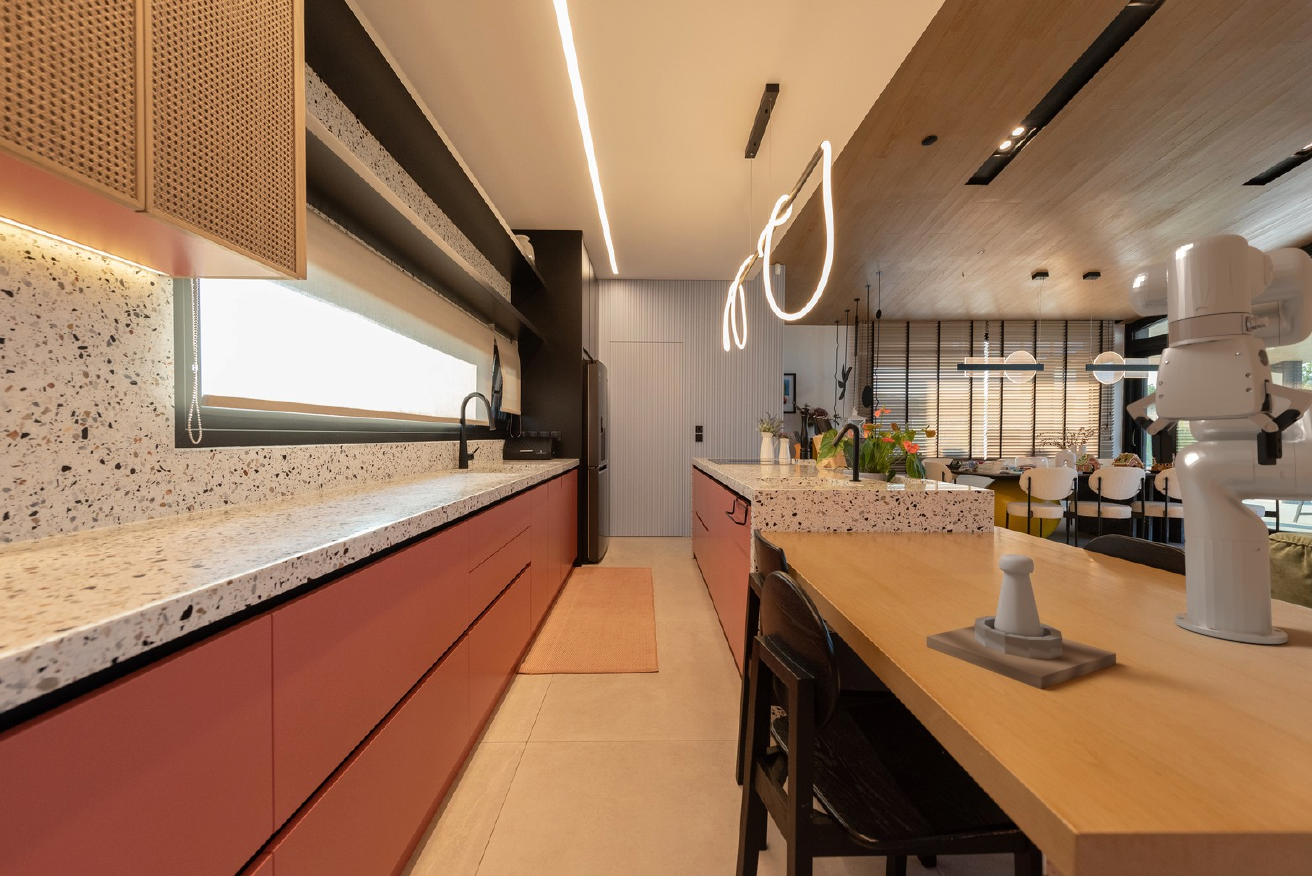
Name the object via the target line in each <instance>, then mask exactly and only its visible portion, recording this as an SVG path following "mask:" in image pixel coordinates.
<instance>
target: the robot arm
mask: <svg viewBox="0 0 1312 876" xmlns="http://www.w3.org/2000/svg"><path fill="white" fill-rule="evenodd" d="M1128 283H1129V284H1128V287H1127V297H1128V302H1129V305H1130V307H1131V308H1132V309H1133V311H1134V312H1135V313H1136V314H1137V315H1139V316H1140V317H1151V316H1152V317H1153V316H1162V315H1167V329H1168V330H1167V331H1168V347H1167V348H1163V350H1162V352H1161V356H1160V360H1159V364H1158V368H1157V376H1156V383H1155V384H1156V385H1155V386H1156V387H1155V391H1154V392H1152V393H1149V394H1148V395H1147V396H1144V397H1142V398H1140V399H1138V400H1136V401H1134V402H1132V403H1130V404H1128V405H1127V406H1126V410H1127V413H1129V415H1130V416H1131V418H1132V419H1133V420H1134V422H1135V424H1136V425H1137V426H1139V427H1140V428H1141V429H1143V430H1144V431H1146V433H1147V434H1148V435H1149V436H1151V437H1150V440H1151V441H1150V442H1151V455H1152V458H1153V459H1155V464H1159V465H1160V464H1161V465H1165V464H1166V465H1167V464H1173V463H1174V467H1175V474H1176V477H1177V482H1178V486H1179V491H1180V495H1181V502H1182V509H1183V511H1182V513H1183V527H1184V528H1183V529H1184V564H1185V588H1186V589H1185V591H1186V593H1185V595H1186V612H1181V613H1176V614H1175V615H1174V617H1173V618H1174V619H1173V620H1174V624H1176V625H1177V626H1179V627H1182V628H1183V629H1185V630H1187V631H1192V632H1194V633H1197V634H1198V633H1199V634H1201V635H1206V636H1208V637H1209V636H1210V637H1214V638H1219V639H1223V640H1228V641H1229V640H1230V641H1234V642H1241V643H1250V644H1263V645H1281V644H1285V643H1287V642H1288V640H1289V639H1288V634H1287V632H1285V631H1284V630H1283V629H1280V628H1277V627H1276V626H1273V619H1272V618H1273V617H1272V613H1273V612H1272V588H1271V559H1270V555H1271V553H1270V535H1269V529H1268V526H1267V524H1266V523H1265V521H1264V520H1263V519H1262V518H1261V517H1260V516H1259V515H1258V514H1257V513H1256V512H1255V511H1253V510H1251V509H1250V508H1249V507H1248V506H1247V505H1245V503H1243V501H1244V500H1245V501H1246V500H1264V501H1267V500H1268V501H1271V500H1272V501H1287V502H1288V501H1289V502H1290V501H1291V502H1296V501H1297V502H1312V389H1306V388H1293V387H1289V386H1285V385H1281V384H1277V383H1274V382H1273V376H1272V370H1271V365H1270V360H1269V357H1268V353H1267V349H1268V348H1279V347H1284V346H1285V347H1287V346H1292V345H1296V344H1299V343H1300V344H1301V342H1303V341H1306V340H1307V339H1308V338H1309V337H1310V335H1311V334H1312V258H1311V256H1310V255H1309V253H1307V252H1306V251H1305V250H1303V249H1301V248H1298V247H1284V248H1278V249H1272V250H1269V251H1268V250H1267V251H1262V250H1261V249H1259V248H1257V247H1255V246H1252V245H1249V241H1248V240H1247V239H1246V238H1245V237H1243V236H1242V235H1240V234H1234V233H1230V234H1229V233H1227V234H1224V233H1223V234H1215V235H1210V236H1204V237H1200V238H1195V239H1193V240H1189V241H1187V242H1184V243H1182V244H1180V245H1176V247H1174V248H1173V249H1172V250H1171V251H1170V252H1169V253H1168V255H1167V257H1166V261H1163V262H1158V263H1157V262H1156V263H1152V264H1148V265H1144V266H1141V267H1140V268H1138V269H1137V270H1135V272H1134V273H1133V274H1132V276H1131V278H1130V280H1129V282H1128ZM1154 405H1155V413H1156V415H1157V418H1156V419H1155V420H1153V419H1152V418H1151V417H1149V416H1148V415H1147V413H1146V409H1148V408H1150V407H1152V406H1154ZM1180 421H1181V422H1182V421H1183V422H1187V421H1188V424H1189V425H1188V426H1189V431H1190V434H1191V436H1192V437H1193V439H1194V440H1196V443H1195V442H1194V443H1191V444H1190V443H1189V444H1187V445H1185V446H1184V447H1182V448H1181V449H1180V450H1179V451H1178V452H1177V454H1176V455H1175V458H1174V450H1173V449H1174V447H1173V444H1174V443H1173V436H1172V435H1171V434H1169V431H1170V430H1171V429H1172V428H1173V427H1175V425H1176V424H1177V423H1179V422H1180ZM1174 459H1175V460H1174Z"/></svg>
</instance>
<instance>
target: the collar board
mask: <svg viewBox="0 0 1312 876" xmlns="http://www.w3.org/2000/svg"><path fill="white" fill-rule="evenodd" d="M995 618H996V615H987V616H982V617H981V616H980V617H976V618H975V620H974V625H972V626H968V627H963V628H958V629H954V630H950V631H944V632H941V633H936V634H931V635H927V636H926V647H927V648H930V649H933V650H936V651H938V652H941V653H944V654H946V655H949V656H952V657H955V658H957V659H959V660H962V661H965V662H968V663H970V664H973V665H976V666H978V667H981V668H984V669H987V670H989V671H991V672H992V671H993V672H994V673H998V674H1000V675H1002V676H1005V677H1008V678H1010V679H1013V680H1015V681H1019V682H1022V683H1024V684H1027V685H1030V686H1032V687H1034V688H1038V689H1041V690H1043V689H1045V688H1048V687H1052V686H1054V685H1057V684H1060V683H1063V682H1066V681H1069V680H1072V679H1075V678H1078V677H1082V676H1084V675H1088V674H1091V673H1094V672H1097V671H1100V670H1103V669H1106V668H1109V667H1112V666H1115V665H1117V653H1116V652H1112V651H1109V650H1106V649H1102V648H1099V647H1096V646H1092V645H1088V644H1084V643H1081V642H1078V641H1074V640H1070V639H1067V638H1064V637H1063V635H1062V631H1061V630H1059V629H1057V628H1055V627H1053V626H1050V625H1049V624H1045V623H1042V622H1040V624H1041V629H1042V633H1041V637H1025V636H1019V635H1013V634H1007V633H1004V632H1001V631H997V630H995V627H994V623H995Z"/></svg>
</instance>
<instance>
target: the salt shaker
mask: <svg viewBox="0 0 1312 876" xmlns="http://www.w3.org/2000/svg"><path fill="white" fill-rule="evenodd" d="M998 567H999V570H1000V571H1003V575H1002V580H1001V581H1002V582H1001V586H1000V591H999V598H998V603H997V608H996V612H995V613H996V614H995V616H996V618H995V623H994V627H995V630H997V631H1001V632H1004V633H1007V634H1013V635H1019V636H1025V637H1041V633H1042V629H1041V624H1040V623H1041V620H1040V616H1039V611H1038V607H1037V604H1036V599H1035V595H1034V594H1035V593H1034V590H1033V589H1034V588H1033V586H1032V582H1031V578H1030V574H1033V573H1034V570H1035V563H1034V559H1032V558H1031V557H1029V556H1026V555H1022V554H1016V553H1006V554H1002V555H1000V556H999V559H998Z"/></svg>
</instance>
